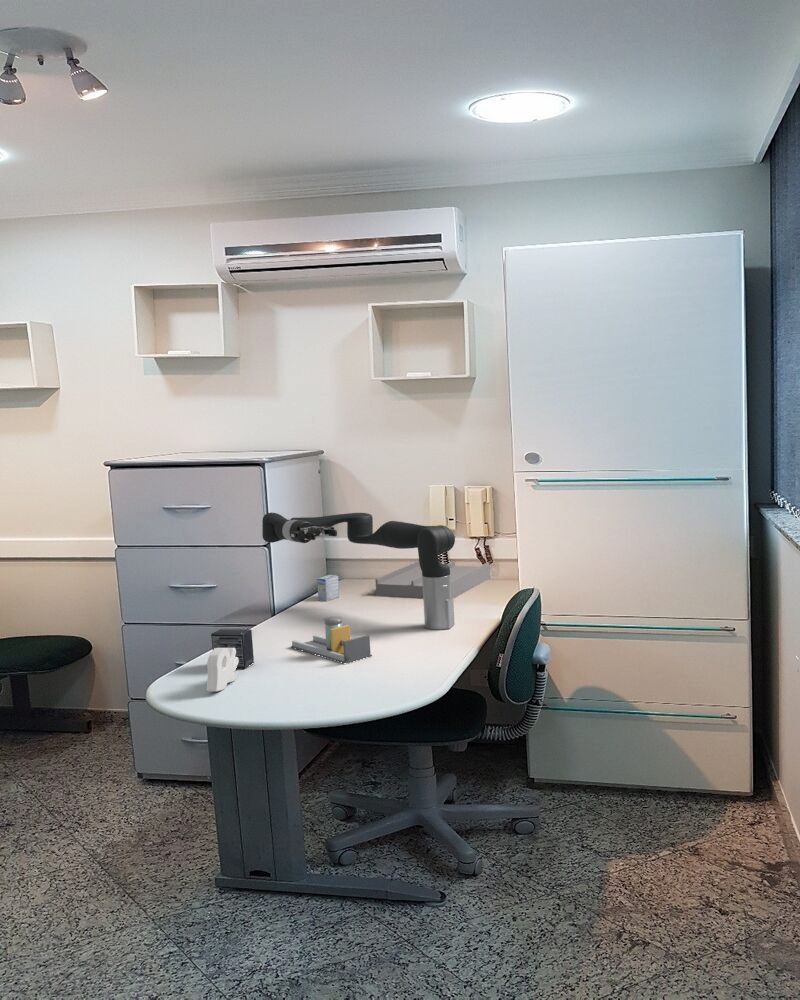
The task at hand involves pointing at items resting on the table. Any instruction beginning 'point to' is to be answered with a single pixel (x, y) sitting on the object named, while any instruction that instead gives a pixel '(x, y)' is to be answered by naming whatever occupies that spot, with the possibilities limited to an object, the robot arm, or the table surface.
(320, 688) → the table surface
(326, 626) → the green jar
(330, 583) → the medicine box
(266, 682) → the table surface
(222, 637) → the small box
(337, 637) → the pusher plate
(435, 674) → the table surface
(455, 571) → the desk organizer
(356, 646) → the pusher lane
